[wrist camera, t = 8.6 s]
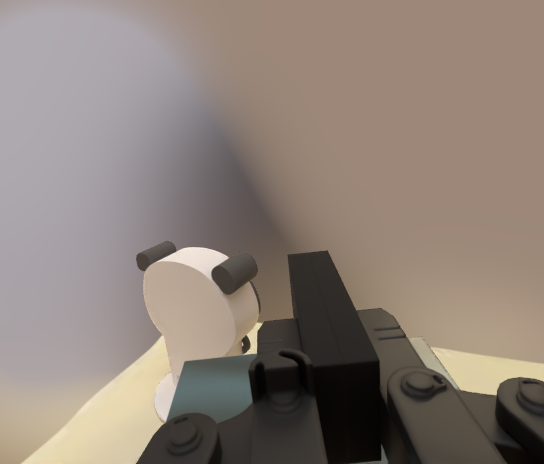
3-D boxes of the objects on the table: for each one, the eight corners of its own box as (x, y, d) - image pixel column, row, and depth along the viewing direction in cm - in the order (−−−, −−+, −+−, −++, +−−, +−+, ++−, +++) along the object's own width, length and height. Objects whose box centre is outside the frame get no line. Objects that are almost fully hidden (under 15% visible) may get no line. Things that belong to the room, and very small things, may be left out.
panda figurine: (291, 370, 40) (277, 237, 36) (226, 453, 31) (197, 289, 27) (205, 344, 47) (184, 228, 42) (130, 407, 38) (93, 268, 33)
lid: (186, 370, 27) (184, 360, 26) (422, 345, 27) (422, 336, 26) (105, 644, 13) (100, 630, 13) (594, 596, 13) (598, 580, 13)
